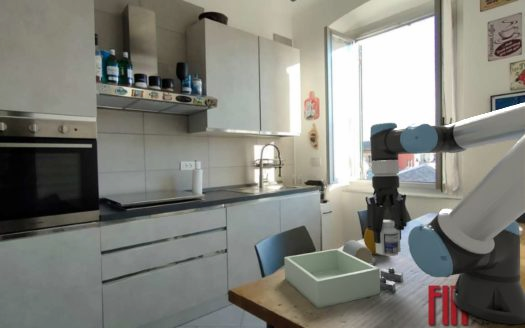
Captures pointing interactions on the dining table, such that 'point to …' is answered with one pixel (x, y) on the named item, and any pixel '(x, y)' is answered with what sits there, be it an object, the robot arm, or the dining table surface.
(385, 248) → the pill bottle
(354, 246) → the ceramic mug
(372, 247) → the orange
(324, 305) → the bin
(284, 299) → the dining table surface
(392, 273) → the bracket
